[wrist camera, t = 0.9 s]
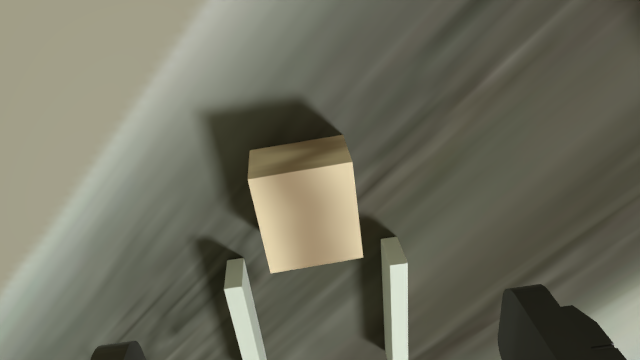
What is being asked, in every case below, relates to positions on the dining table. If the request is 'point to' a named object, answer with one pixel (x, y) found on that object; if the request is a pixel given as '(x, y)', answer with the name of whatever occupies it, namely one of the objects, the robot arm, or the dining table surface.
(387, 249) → the white blocks
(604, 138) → the dining table surface
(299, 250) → the maple block
